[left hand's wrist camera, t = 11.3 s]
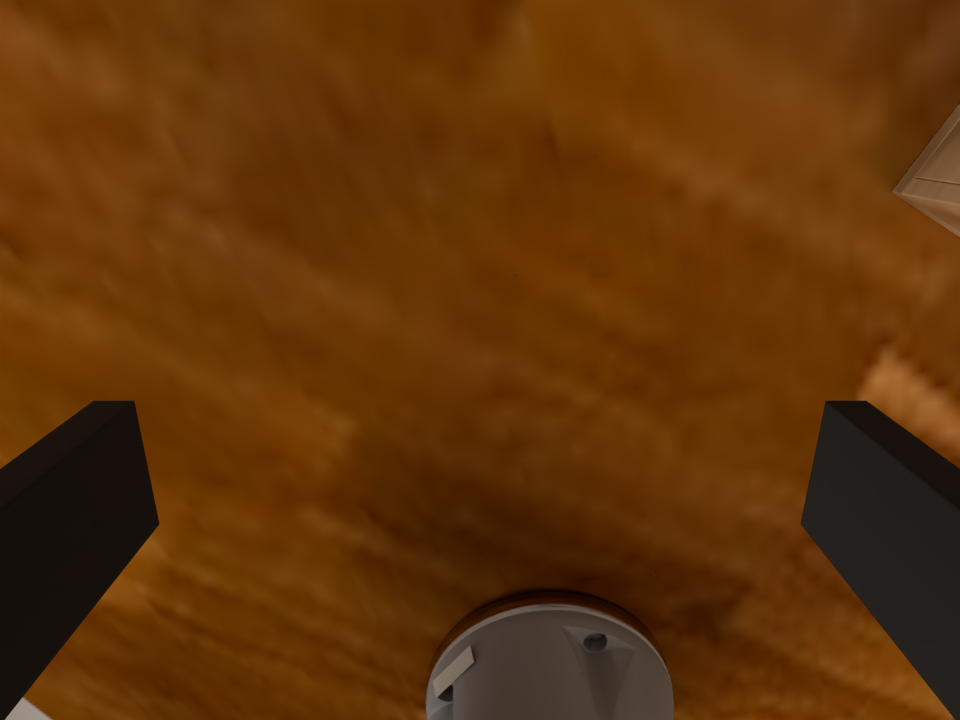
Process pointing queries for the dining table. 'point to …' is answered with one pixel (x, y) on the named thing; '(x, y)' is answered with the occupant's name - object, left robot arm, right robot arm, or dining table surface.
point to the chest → (937, 177)
